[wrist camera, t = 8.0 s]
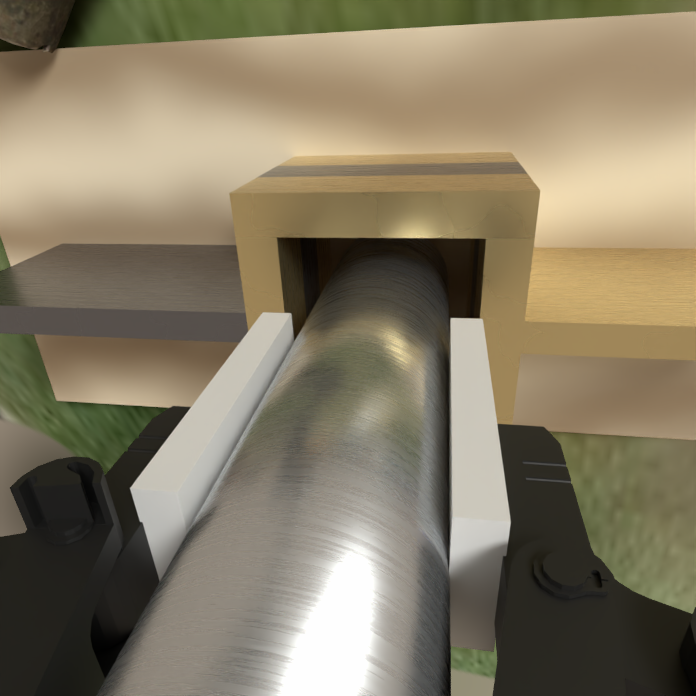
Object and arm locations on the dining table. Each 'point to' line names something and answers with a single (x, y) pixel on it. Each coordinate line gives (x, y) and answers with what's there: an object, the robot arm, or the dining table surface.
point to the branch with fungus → (34, 22)
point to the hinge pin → (324, 511)
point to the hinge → (371, 222)
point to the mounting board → (360, 139)
